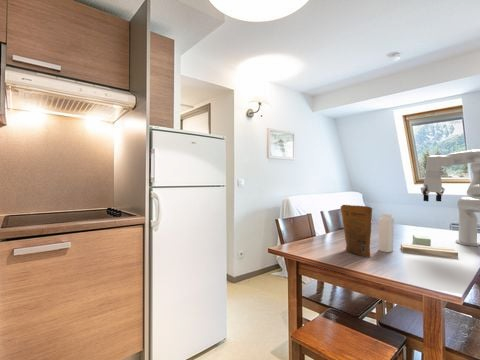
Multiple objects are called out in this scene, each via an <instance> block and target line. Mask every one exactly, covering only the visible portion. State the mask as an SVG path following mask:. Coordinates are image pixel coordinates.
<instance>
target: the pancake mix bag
mask: <svg viewBox="0 0 480 360" xmlns="http://www.w3.org/2000/svg"><path fill="white" fill-rule="evenodd" d="M340 213H341V219H342V225H343V232H344V239H345V245H346V246H345V251H346V252H347V253H349V254H354V255H357V256H360V257H363V258H372V257H371V248H370V247H371V246H370V244H371V234H372V233H371V232H372V217H373V208H372V207H370V206H366V205H365V206H364V205H352V204H351V205H350V204H342V205H341V206H340Z"/></svg>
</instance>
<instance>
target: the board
mask: <svg viewBox="0 0 480 360" xmlns="http://www.w3.org/2000/svg"><path fill="white" fill-rule="evenodd" d="M400 250H401V252H403V253H408V254H417V255H425V256H434V257H442V258H443V257H444V258H451V259H459V252H458V251H456V250H455V248H450V247H439V246H422V245H413V243H412V244H409V243H402V242H401V243H400Z"/></svg>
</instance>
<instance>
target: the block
mask: <svg viewBox="0 0 480 360" xmlns="http://www.w3.org/2000/svg"><path fill="white" fill-rule="evenodd" d="M431 244H432V239H431V238H430V237H428V236H427V235H420V234H419V235H417V234H412V245H422V246H431Z"/></svg>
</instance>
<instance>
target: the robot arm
mask: <svg viewBox="0 0 480 360" xmlns="http://www.w3.org/2000/svg"><path fill="white" fill-rule="evenodd" d="M425 164H426V169H425V170H426V171H425V172H426V174H425V176H424V180H423V184H422V187H420V191H421V194H422V195H423V200H422V201H423V202H429V198H430V195H429V194H430V193H435V194H436V195H435V201H436V202H442V196H443V194H444V192H445V189H446V188H445V187H443V186H442V185H443V184H442V178H441V175H442V173H441V168H450V167H453V166H461V165H466V164H467V165H468V164H470V169H471V172H472V175H473V177H472V180H471V182H470V184H469V185H468V188H467V190H466V195H467V197H466V196H463V197H460V198H459V199H458V200H457V208H458V218H459V219H458V239H456V240H455V243H456V244H459V245H464V246H469V247H470V246H472V247H479V245H480V243H479V242H478V219H479V218H478V216H477V214H476V213H479V214H480V149H469V150H464V151H458V152H453V153H448V154H442V155H428V156H427V157H426V163H425Z"/></svg>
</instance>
